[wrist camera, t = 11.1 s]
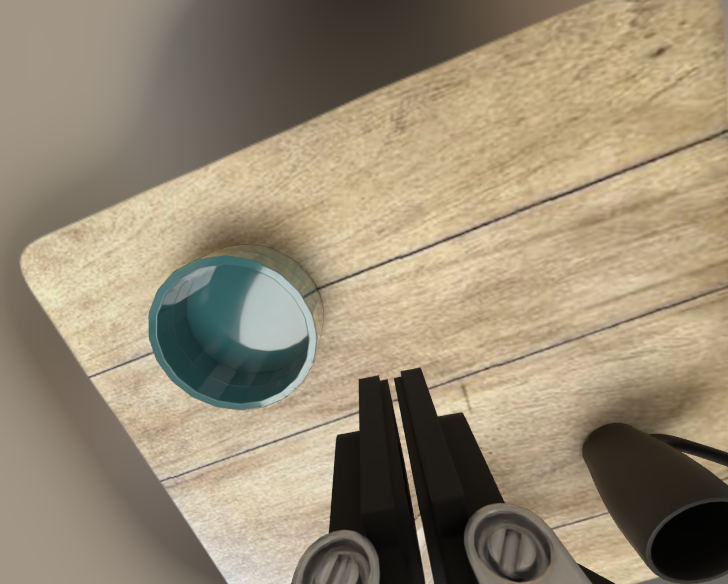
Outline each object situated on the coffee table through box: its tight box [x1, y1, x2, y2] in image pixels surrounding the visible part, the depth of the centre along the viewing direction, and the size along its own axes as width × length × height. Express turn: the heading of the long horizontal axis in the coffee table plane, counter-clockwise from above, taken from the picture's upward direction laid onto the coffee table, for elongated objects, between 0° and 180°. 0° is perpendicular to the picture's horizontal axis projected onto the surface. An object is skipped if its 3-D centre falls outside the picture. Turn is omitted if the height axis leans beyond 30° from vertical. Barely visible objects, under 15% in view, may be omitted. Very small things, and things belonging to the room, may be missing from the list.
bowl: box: [149, 245, 323, 410], centre depth 27 cm, size 12×12×5 cm
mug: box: [583, 423, 728, 584], centre depth 29 cm, size 8×12×10 cm
